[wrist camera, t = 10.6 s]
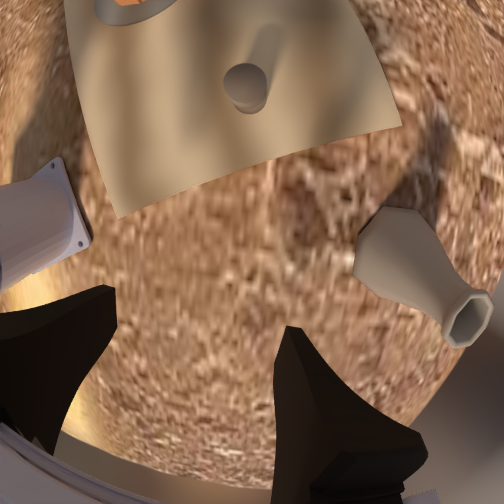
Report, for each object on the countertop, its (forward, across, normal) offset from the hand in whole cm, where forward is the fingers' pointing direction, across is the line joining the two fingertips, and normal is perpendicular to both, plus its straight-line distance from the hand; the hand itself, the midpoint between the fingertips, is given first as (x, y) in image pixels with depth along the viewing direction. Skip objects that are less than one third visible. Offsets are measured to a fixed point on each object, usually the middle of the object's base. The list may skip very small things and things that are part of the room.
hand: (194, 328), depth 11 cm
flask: (+10, -12, -2) cm, 16 cm away
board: (+9, +4, -16) cm, 19 cm away
